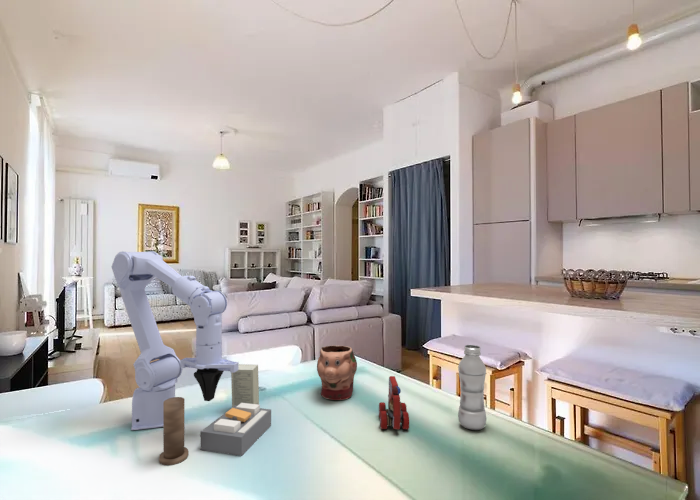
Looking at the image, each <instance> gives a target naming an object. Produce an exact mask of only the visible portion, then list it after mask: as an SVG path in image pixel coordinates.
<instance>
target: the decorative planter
mask: <svg viewBox="0 0 700 500" xmlns="http://www.w3.org/2000/svg"><path fill="white" fill-rule="evenodd" d="M357 370H358V361H357V358H356V355H355V354H354V350H353V349H352V347H350V346H347V345H335V344H334V345H326V346H322V347H321V348H320V350H319V357H318V359H317V362H316V372H317V374H318V376H319V378H320V380H321V391H320V395H321V397H323V398H324V399H327V400H330V401H331V400H332V401H333V400H334V401H343V400H348V399H349V398H351V397H352V395H353V391H354V379H355V375H356V373H357Z"/></svg>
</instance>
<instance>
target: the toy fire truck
mask: <svg viewBox="0 0 700 500" xmlns="http://www.w3.org/2000/svg"><path fill="white" fill-rule="evenodd" d="M401 392H402V391H401V388H400V386H399V384H398V381H397V379H396V376H395V375H394V376H393V375H391V376H389V377H388V394H387V399H388V401H387V402H388V403H387V407H388V408H387V407H386V402H384V401H383V402H378V417H379V418H378V419H379V426H380V427H379V428H380V430H387V429H388V427H391V426H392V427H393V430H400V429H402V430H409V428H410V414H409V411H407V404H406V403H405V402H401V395H400V394H401Z"/></svg>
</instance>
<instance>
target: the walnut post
mask: <svg viewBox="0 0 700 500" xmlns="http://www.w3.org/2000/svg"><path fill="white" fill-rule="evenodd" d="M162 428H163V429H162V430H163V431H162V432H163V433H162V434H163V437H162V438H163V441H162V442H163V443H162V445H163V446H162V447H163V450H162V452H161V453H160V454H159V456H158V462H159V464H160V465H161V466H162V465H163V466H175V465H178V464H181V463H182V462H184V461H186V460H187V459H188V457H189V456H190V455H189V449H188V447H185V398H184V397H182V396H175V397H173V398H169V399H167V400H165V401H164V402H163V427H162Z"/></svg>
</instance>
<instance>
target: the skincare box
mask: <svg viewBox="0 0 700 500" xmlns="http://www.w3.org/2000/svg"><path fill="white" fill-rule="evenodd" d="M230 374H231V375H230V376H231V378H230V379H231V380H230V381H231V408H232V407H234V406H235V405H239V404H241V403H249V404H257V405H260V391H259V388H260V387H259V386H260V385H259V383H260V382H259V364H248V363H247V364H245V363H244V364H243V363H242V364H239V370H238V371H236V372H234V373H231V372H230Z"/></svg>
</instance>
